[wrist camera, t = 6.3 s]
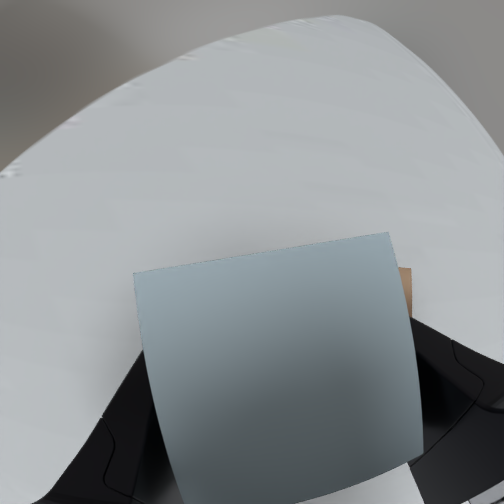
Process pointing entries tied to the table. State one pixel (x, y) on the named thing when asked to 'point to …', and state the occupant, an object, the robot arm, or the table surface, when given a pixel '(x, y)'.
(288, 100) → the table surface
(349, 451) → the slate block
